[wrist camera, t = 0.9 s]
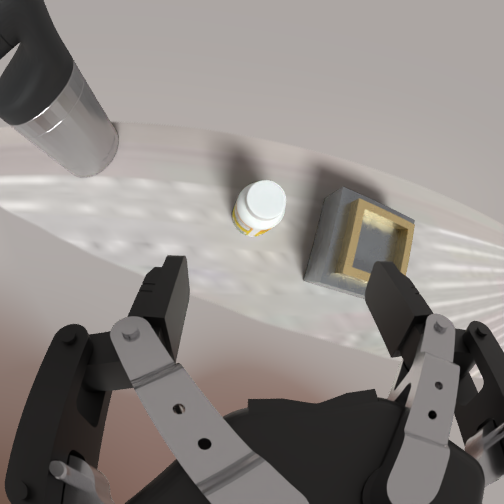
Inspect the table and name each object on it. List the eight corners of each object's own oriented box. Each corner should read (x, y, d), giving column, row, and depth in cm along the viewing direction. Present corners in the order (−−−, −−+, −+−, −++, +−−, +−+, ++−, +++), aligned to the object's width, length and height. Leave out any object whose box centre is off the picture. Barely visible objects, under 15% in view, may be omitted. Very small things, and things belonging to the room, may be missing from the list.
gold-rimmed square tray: (303, 280, 37) (326, 283, 29) (324, 198, 38) (350, 182, 30) (374, 301, 38) (406, 307, 30) (390, 226, 39) (423, 217, 31)
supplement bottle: (228, 233, 36) (234, 219, 26) (235, 193, 36) (244, 168, 27) (269, 240, 36) (288, 230, 27) (275, 201, 37) (295, 179, 27)
